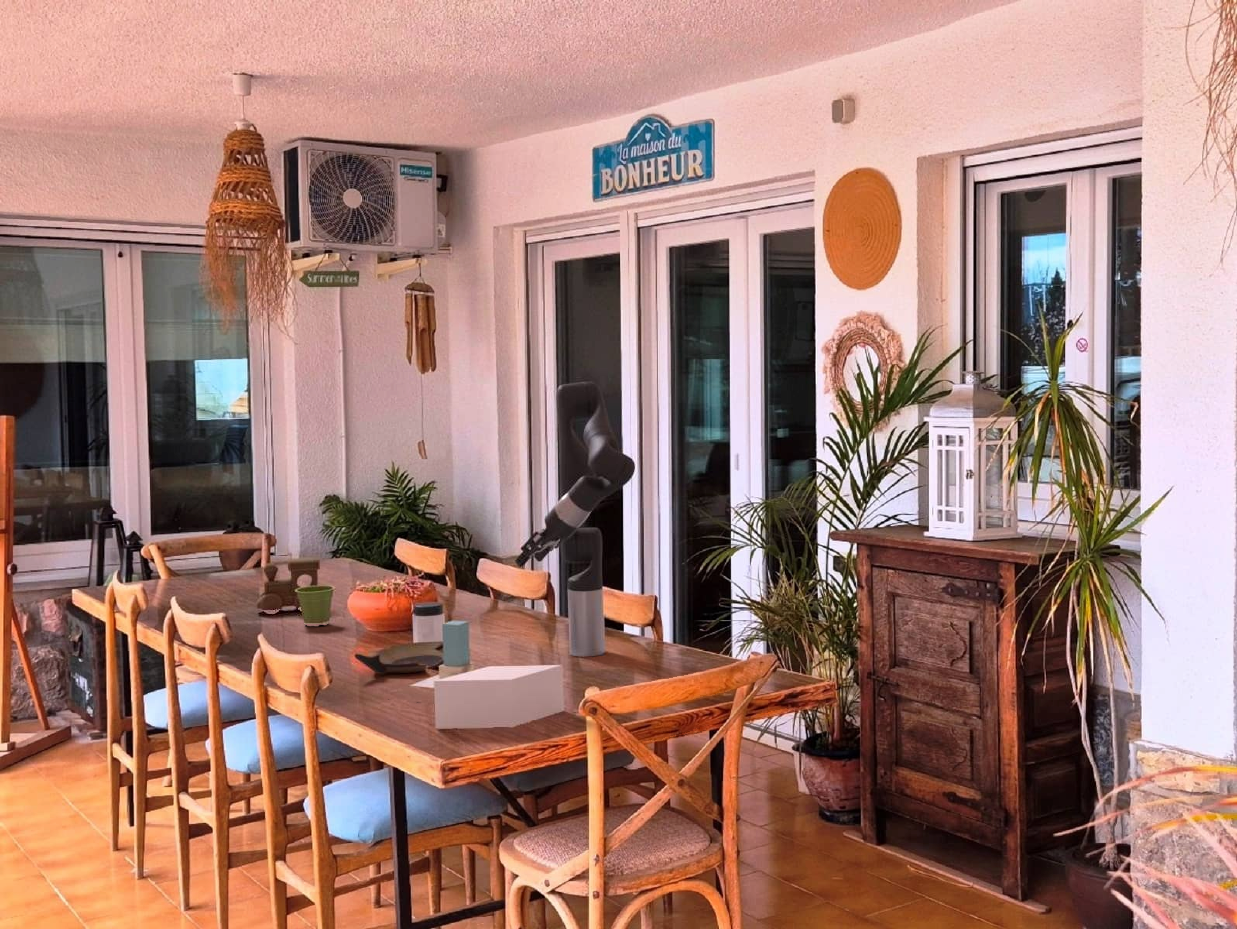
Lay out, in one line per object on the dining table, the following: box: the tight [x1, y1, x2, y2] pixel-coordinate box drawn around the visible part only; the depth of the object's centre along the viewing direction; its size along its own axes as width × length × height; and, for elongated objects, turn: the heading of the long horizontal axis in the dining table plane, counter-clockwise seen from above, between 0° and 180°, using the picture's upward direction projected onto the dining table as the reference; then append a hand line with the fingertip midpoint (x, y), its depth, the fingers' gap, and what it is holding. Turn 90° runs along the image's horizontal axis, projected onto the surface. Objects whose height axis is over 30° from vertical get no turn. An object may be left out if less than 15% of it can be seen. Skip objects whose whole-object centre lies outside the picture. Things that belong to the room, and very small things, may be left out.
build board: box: [409, 674, 439, 689], centre depth 314 cm, size 16×16×1 cm
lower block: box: [438, 661, 475, 680], centre depth 314 cm, size 6×6×4 cm
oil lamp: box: [354, 641, 444, 675], centre depth 331 cm, size 22×30×8 cm
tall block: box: [442, 620, 471, 667], centre depth 314 cm, size 4×4×10 cm
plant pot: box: [295, 585, 336, 623], centre depth 398 cm, size 12×12×11 cm
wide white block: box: [433, 664, 565, 730], centre depth 281 cm, size 14×29×10 cm, turn 115°
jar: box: [411, 601, 446, 643], centre depth 360 cm, size 9×8×12 cm
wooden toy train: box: [256, 557, 321, 611], centre depth 425 cm, size 20×11×17 cm, turn 107°
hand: (527, 561), depth 310 cm, fingers open, 8 cm apart
